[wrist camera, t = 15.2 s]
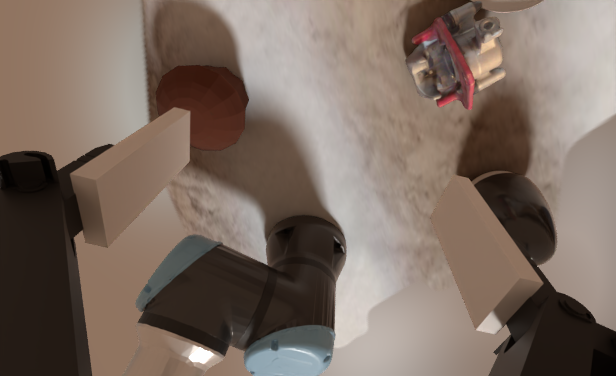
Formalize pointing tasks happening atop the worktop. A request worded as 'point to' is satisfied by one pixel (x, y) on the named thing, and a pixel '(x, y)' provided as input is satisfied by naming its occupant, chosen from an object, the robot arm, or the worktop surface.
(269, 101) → the worktop surface
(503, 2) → the spoon
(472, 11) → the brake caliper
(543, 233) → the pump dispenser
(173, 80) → the muffin
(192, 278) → the robot arm
